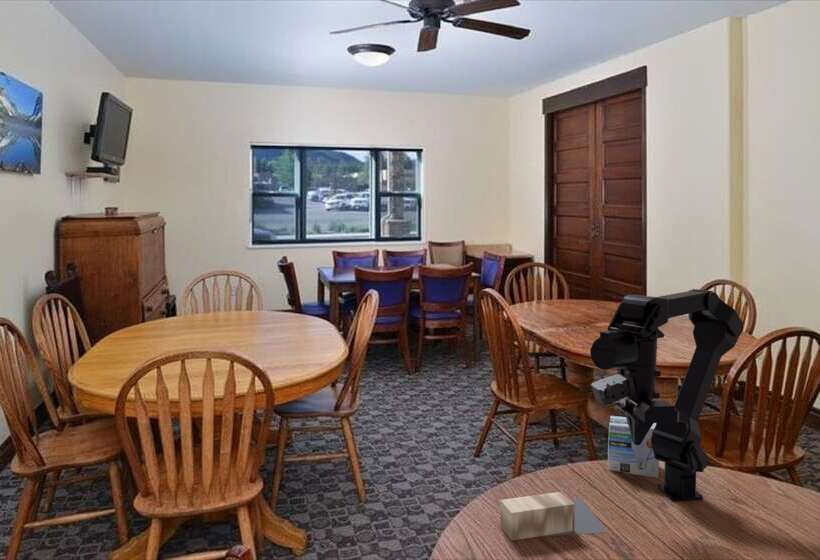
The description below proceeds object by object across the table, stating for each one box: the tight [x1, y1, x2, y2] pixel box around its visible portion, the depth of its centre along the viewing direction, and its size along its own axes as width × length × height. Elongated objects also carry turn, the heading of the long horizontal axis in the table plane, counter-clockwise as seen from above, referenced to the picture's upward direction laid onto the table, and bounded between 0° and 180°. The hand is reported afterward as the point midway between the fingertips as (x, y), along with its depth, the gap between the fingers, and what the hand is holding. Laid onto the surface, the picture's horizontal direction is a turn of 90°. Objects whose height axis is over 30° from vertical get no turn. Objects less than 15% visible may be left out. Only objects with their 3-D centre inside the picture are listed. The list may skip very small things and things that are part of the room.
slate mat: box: [543, 498, 608, 537], centre depth 112 cm, size 13×16×1 cm
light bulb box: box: [607, 415, 660, 478], centre depth 132 cm, size 11×7×11 cm, turn 70°
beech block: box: [499, 491, 575, 541], centre depth 107 cm, size 5×5×12 cm
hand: (636, 444), depth 113 cm, fingers closed
